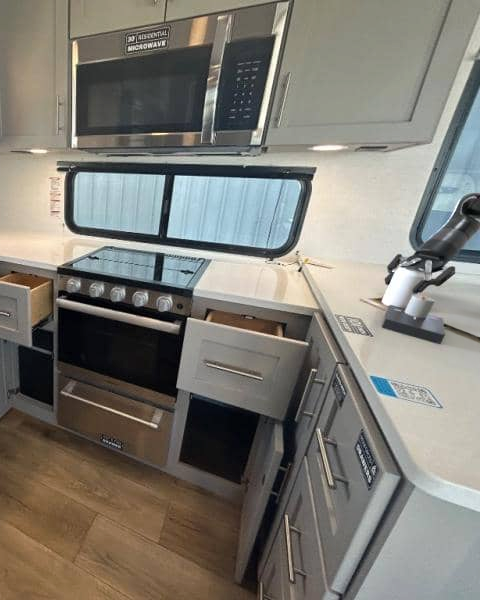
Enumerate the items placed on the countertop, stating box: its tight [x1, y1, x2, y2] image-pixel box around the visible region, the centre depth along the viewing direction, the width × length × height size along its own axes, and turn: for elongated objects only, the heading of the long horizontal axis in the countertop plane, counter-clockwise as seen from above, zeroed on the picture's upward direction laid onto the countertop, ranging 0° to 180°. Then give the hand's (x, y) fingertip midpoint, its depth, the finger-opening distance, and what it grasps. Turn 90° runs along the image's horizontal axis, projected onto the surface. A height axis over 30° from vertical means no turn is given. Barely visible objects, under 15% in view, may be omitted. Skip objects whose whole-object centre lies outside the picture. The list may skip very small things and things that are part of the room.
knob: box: [405, 294, 436, 318], centre depth 88 cm, size 4×4×5 cm
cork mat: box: [359, 297, 389, 312], centre depth 101 cm, size 12×12×1 cm
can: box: [381, 264, 425, 309], centre depth 98 cm, size 6×6×12 cm
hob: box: [381, 305, 446, 345], centre depth 88 cm, size 15×11×3 cm
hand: (400, 287), depth 98 cm, fingers closed on can, 6 cm apart
